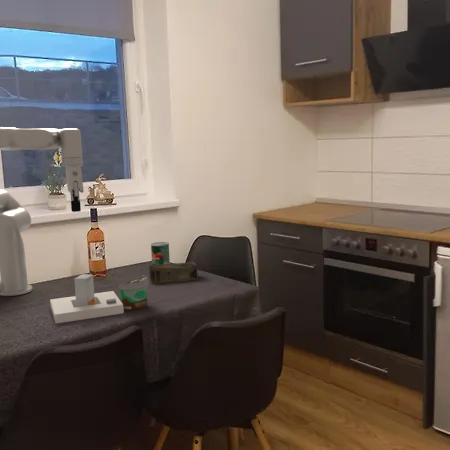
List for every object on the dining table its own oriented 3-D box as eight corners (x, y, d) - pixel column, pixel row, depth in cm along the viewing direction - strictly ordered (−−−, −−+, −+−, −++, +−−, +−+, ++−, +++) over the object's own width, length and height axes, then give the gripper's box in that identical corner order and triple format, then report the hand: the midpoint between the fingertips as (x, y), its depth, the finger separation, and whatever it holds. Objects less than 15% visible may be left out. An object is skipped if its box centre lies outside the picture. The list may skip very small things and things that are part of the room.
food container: (134, 314, 182) (132, 285, 181) (120, 312, 185) (118, 283, 184) (157, 304, 192) (156, 276, 191) (144, 302, 196) (142, 274, 194)
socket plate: (55, 323, 176) (54, 311, 175) (50, 307, 193) (49, 296, 192) (123, 313, 184) (123, 301, 183) (113, 298, 201) (112, 288, 200)
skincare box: (88, 313, 185) (85, 278, 183) (76, 313, 186) (73, 278, 184) (95, 307, 191) (93, 274, 189) (84, 307, 192) (81, 274, 190)
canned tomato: (149, 270, 241) (148, 245, 240) (155, 265, 249) (153, 241, 247) (167, 270, 240) (166, 245, 238) (172, 265, 248) (170, 241, 246)
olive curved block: (198, 280, 223) (197, 264, 222) (151, 285, 218) (150, 268, 217) (195, 275, 230) (194, 260, 229) (149, 280, 226) (148, 264, 225)
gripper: (85, 162, 198) (89, 213, 201) (80, 161, 212) (83, 208, 215) (63, 163, 196) (68, 214, 199) (59, 162, 209) (63, 209, 212)
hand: (76, 211), depth 207 cm, fingers closed
